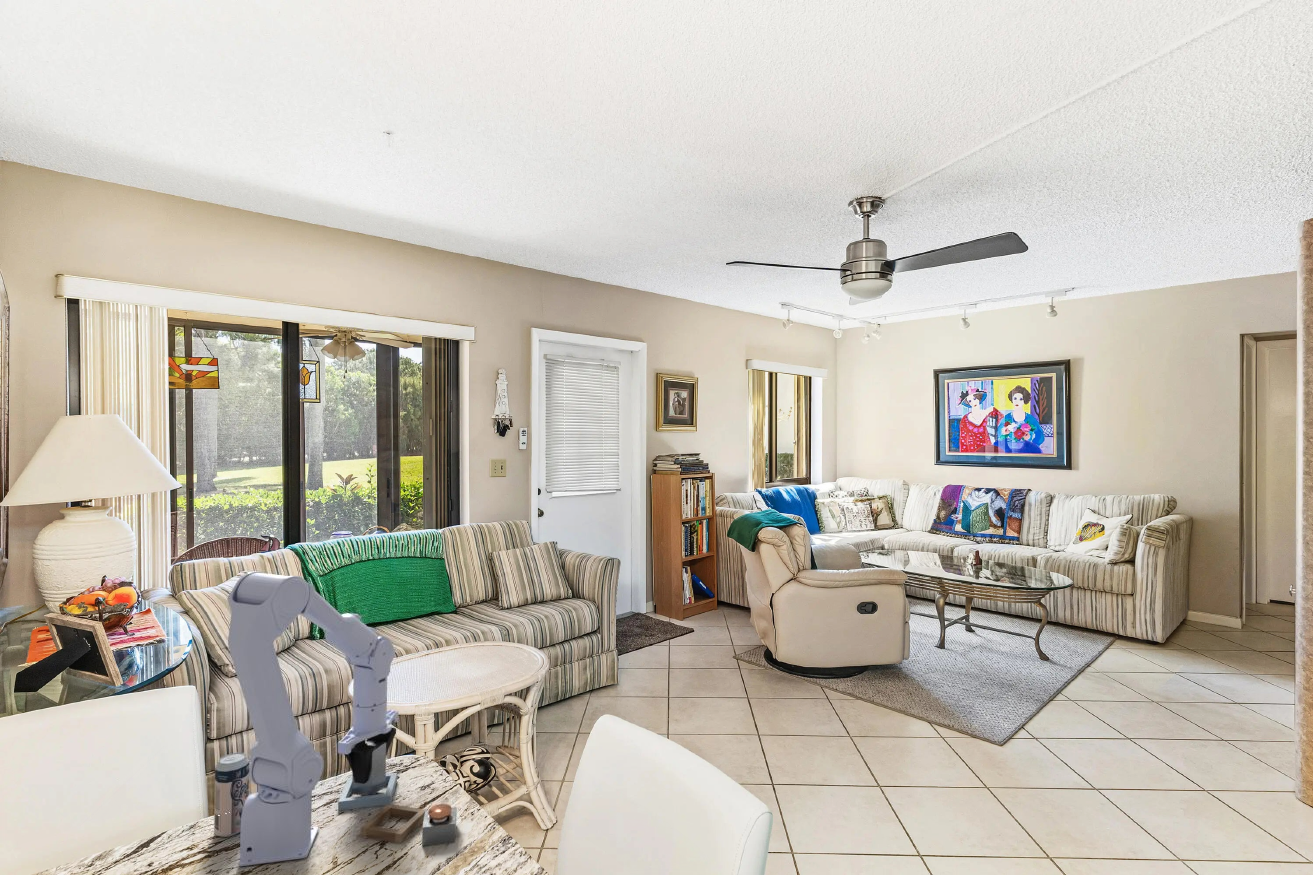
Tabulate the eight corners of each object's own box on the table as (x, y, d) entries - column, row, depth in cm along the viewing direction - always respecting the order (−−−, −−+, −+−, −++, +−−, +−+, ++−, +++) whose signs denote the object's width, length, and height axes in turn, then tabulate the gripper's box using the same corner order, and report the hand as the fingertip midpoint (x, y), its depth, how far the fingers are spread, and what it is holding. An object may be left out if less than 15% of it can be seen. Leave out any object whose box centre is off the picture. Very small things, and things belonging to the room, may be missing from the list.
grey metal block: (371, 796, 119) (372, 751, 119) (352, 793, 120) (352, 749, 120) (385, 785, 123) (386, 742, 123) (366, 782, 124) (367, 739, 124)
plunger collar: (422, 846, 106) (422, 827, 107) (425, 828, 111) (425, 810, 111) (454, 842, 108) (455, 823, 108) (456, 824, 113) (456, 807, 113)
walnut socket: (400, 843, 107) (401, 834, 107) (360, 836, 109) (360, 827, 109) (426, 818, 114) (426, 809, 114) (388, 812, 116) (388, 803, 116)
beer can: (242, 837, 108) (243, 763, 108) (208, 841, 107) (210, 766, 107) (252, 821, 113) (253, 750, 113) (221, 824, 112) (222, 752, 112)
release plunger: (427, 838, 107) (427, 817, 107) (429, 826, 111) (429, 805, 111) (450, 836, 108) (450, 814, 108) (451, 823, 112) (452, 802, 112)
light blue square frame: (338, 810, 117) (338, 801, 117) (348, 785, 125) (348, 777, 125) (390, 804, 119) (390, 795, 119) (397, 780, 127) (397, 772, 127)
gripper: (363, 719, 114) (362, 799, 114) (412, 689, 128) (411, 760, 128) (327, 715, 116) (326, 794, 115) (380, 685, 130) (379, 756, 130)
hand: (369, 776), depth 122 cm, fingers closed on grey metal block, 4 cm apart
